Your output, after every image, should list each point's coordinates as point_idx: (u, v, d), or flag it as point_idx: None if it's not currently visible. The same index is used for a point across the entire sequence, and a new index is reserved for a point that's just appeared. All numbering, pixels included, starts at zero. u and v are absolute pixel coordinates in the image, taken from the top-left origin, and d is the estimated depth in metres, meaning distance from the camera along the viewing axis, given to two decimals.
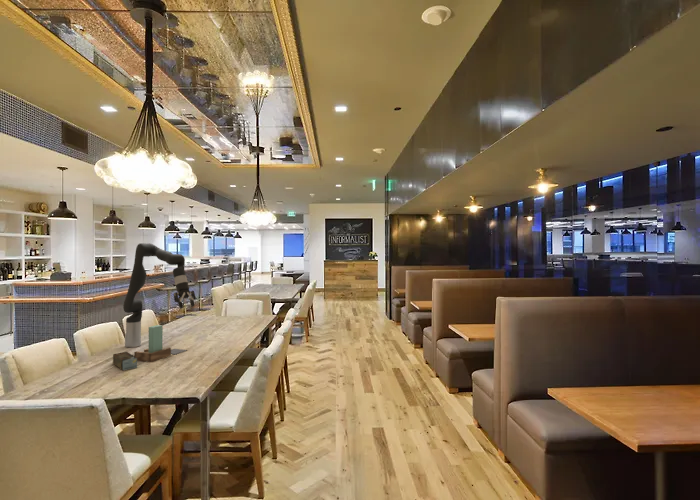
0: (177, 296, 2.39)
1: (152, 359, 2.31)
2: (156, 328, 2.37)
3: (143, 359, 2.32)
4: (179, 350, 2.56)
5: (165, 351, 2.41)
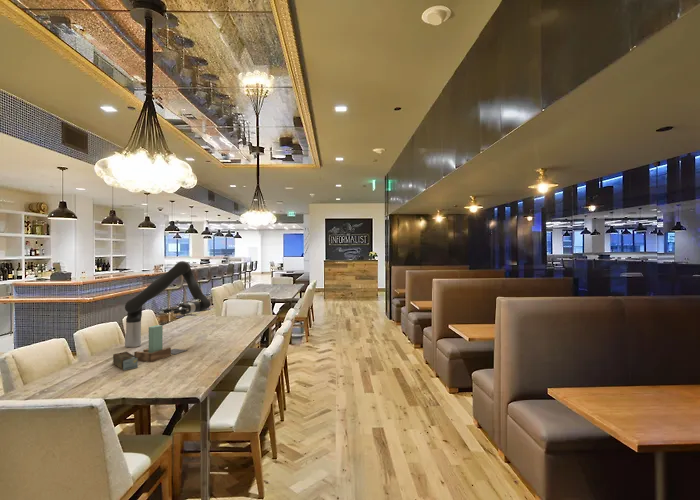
0: None
1: (152, 359, 2.31)
2: (156, 328, 2.37)
3: (143, 359, 2.32)
4: (179, 350, 2.56)
5: (165, 351, 2.41)
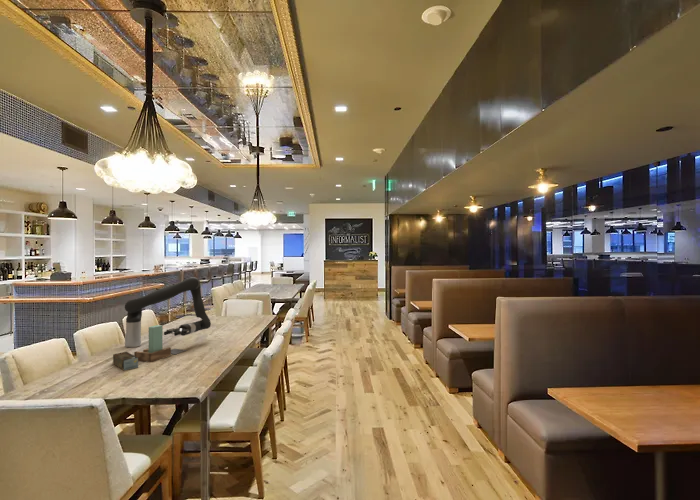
0: (185, 333, 2.55)
1: (152, 359, 2.31)
2: (156, 328, 2.37)
3: (143, 359, 2.32)
4: (179, 350, 2.56)
5: (165, 351, 2.41)
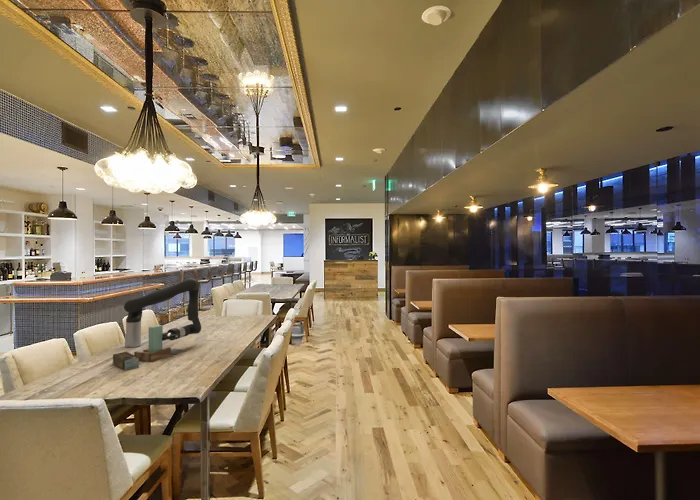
0: (174, 338, 2.45)
1: (152, 359, 2.31)
2: (156, 328, 2.37)
3: (143, 359, 2.32)
4: (179, 350, 2.56)
5: (165, 351, 2.41)
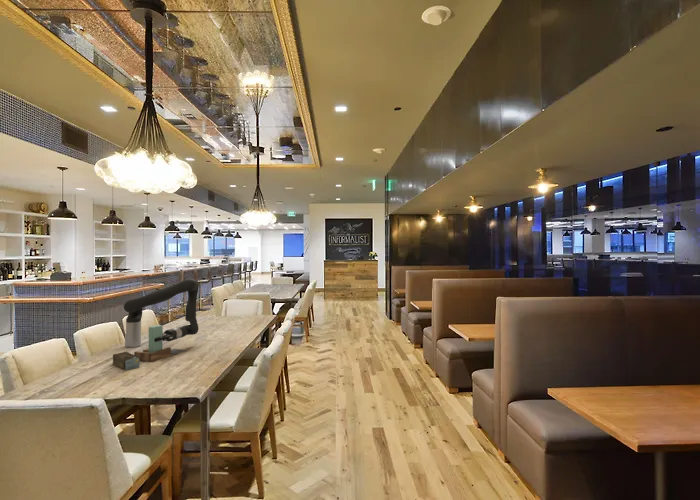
0: (167, 339, 2.42)
1: (152, 359, 2.31)
2: (156, 328, 2.37)
3: (143, 359, 2.32)
4: (179, 350, 2.56)
5: (165, 351, 2.41)
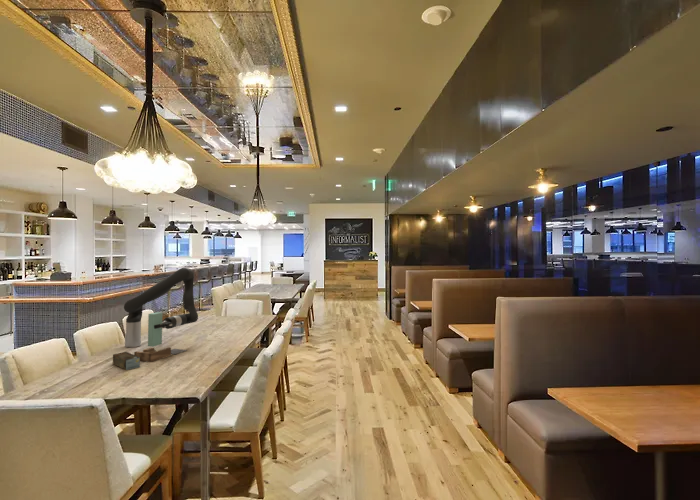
0: (167, 327, 2.42)
1: (152, 359, 2.31)
2: (156, 315, 2.37)
3: (143, 359, 2.32)
4: (179, 350, 2.56)
5: (165, 351, 2.41)
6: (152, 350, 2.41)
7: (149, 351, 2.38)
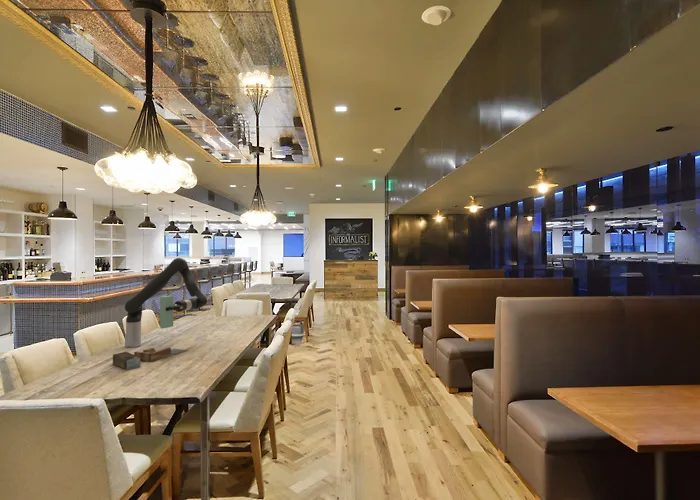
0: (178, 309, 2.50)
1: (152, 359, 2.31)
2: (167, 298, 2.46)
3: (143, 359, 2.32)
4: (179, 350, 2.56)
5: (165, 351, 2.41)
6: (152, 350, 2.41)
7: (149, 351, 2.38)
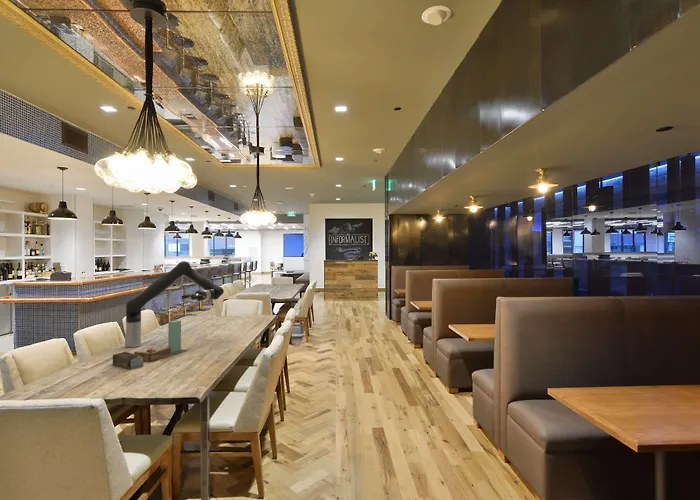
0: None
1: (152, 359, 2.31)
2: (175, 323, 2.52)
3: (143, 359, 2.32)
4: None
5: (165, 351, 2.41)
6: None
7: (152, 351, 2.40)
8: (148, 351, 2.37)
